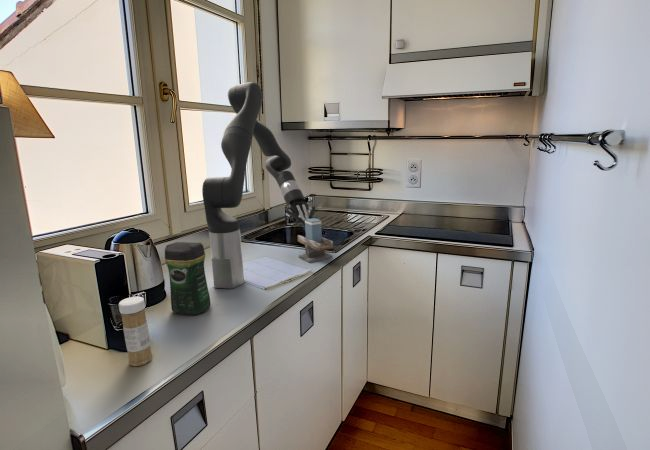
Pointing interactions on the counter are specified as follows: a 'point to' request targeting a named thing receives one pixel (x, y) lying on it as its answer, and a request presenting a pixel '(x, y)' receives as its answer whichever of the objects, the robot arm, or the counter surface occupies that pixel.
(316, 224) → the blue gray lidded container
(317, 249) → the brown cleat
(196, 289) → the coffee jar
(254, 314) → the counter surface
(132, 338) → the sprinkles bottle
